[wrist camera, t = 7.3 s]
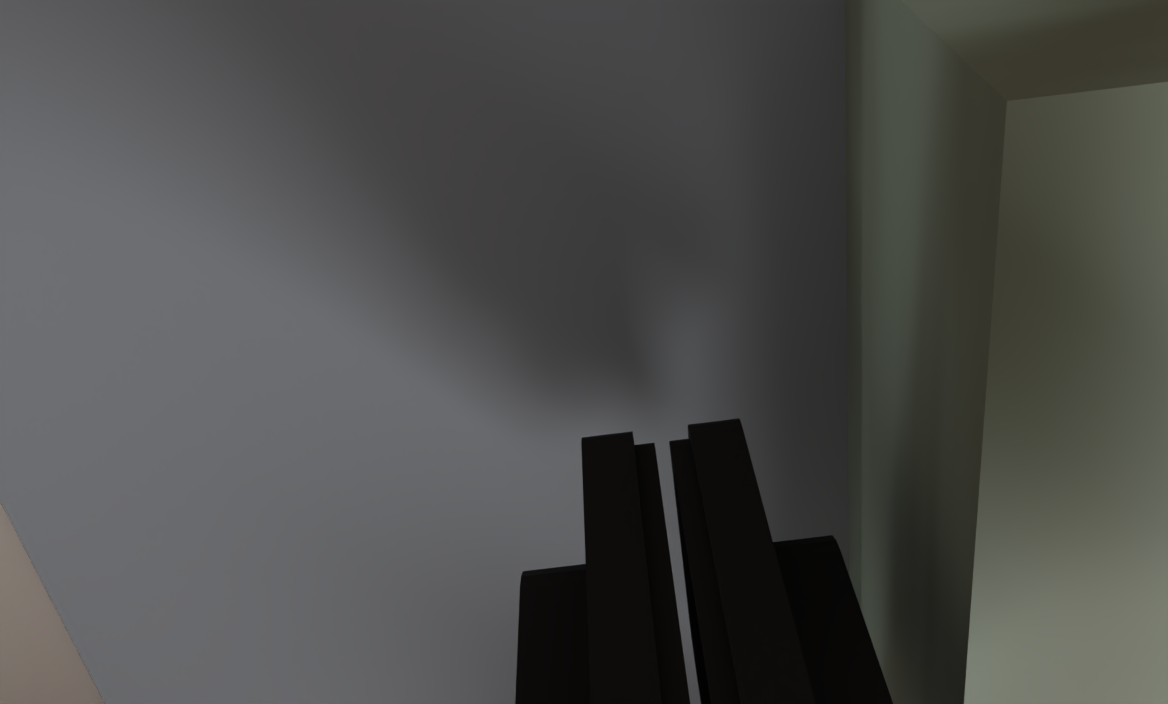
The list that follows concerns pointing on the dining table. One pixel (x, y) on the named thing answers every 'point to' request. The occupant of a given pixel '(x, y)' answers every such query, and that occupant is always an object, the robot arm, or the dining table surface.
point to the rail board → (397, 315)
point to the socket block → (1009, 347)
